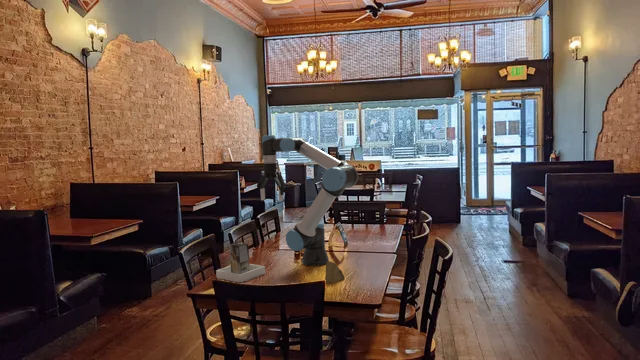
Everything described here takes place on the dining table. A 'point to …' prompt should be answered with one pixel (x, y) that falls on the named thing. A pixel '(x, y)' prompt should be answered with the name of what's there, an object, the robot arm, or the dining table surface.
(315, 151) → the robot arm
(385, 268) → the dining table surface
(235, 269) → the coffee box
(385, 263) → the dining table surface
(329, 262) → the rock
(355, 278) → the dining table surface
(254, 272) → the tray
